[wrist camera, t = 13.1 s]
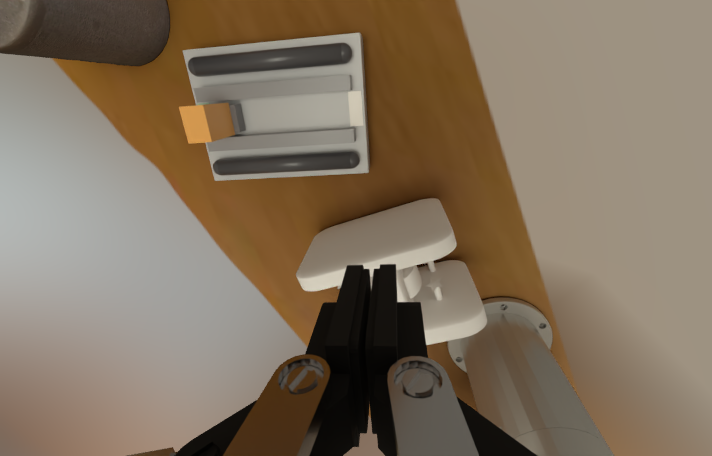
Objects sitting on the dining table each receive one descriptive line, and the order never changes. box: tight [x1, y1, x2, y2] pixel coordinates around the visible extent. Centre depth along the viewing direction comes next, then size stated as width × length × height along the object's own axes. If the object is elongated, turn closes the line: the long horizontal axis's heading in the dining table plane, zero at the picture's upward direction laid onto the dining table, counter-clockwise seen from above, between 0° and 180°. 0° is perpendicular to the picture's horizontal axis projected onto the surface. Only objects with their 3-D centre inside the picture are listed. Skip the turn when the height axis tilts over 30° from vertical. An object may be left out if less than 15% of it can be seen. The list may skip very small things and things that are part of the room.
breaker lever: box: [179, 103, 246, 143], centre depth 29 cm, size 3×3×6 cm
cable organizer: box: [296, 198, 487, 345], centre depth 33 cm, size 15×11×12 cm
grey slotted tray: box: [183, 33, 370, 181], centre depth 31 cm, size 12×16×5 cm
